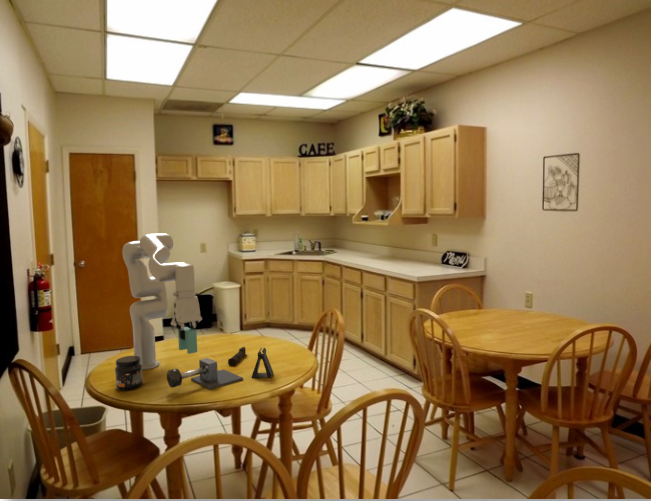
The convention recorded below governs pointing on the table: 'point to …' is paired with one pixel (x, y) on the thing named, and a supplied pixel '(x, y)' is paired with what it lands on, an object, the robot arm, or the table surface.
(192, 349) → the spacer
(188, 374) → the shaft
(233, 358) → the hand tool
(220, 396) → the table surface
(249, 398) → the table surface
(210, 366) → the bracket
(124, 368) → the supplement container
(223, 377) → the base plate
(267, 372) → the phone stand
